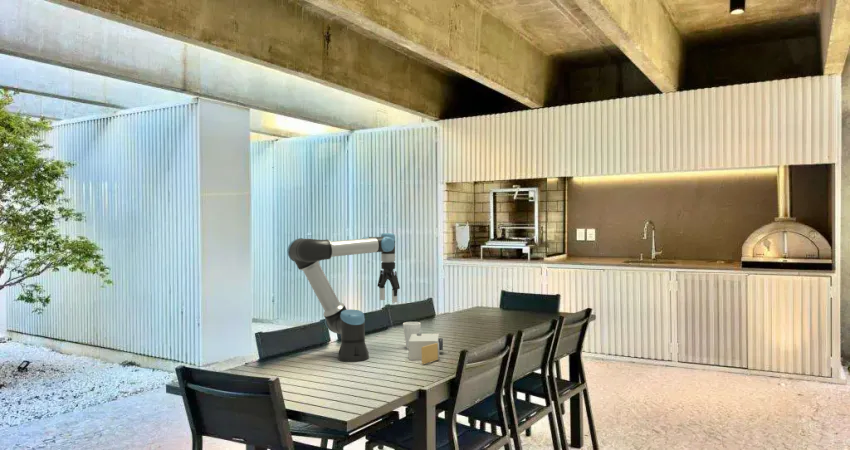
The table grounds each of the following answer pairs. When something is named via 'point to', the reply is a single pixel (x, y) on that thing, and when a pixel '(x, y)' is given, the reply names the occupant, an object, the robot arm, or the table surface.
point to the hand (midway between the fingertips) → (388, 301)
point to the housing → (422, 344)
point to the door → (430, 353)
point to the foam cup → (410, 330)
